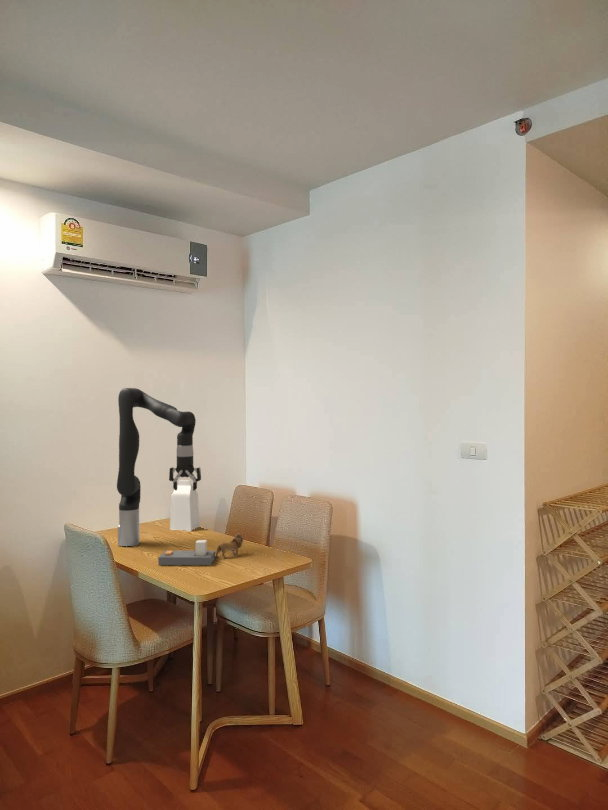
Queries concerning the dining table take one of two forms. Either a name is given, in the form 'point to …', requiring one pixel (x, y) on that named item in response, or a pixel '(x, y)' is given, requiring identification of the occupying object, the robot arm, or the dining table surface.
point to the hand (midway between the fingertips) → (185, 490)
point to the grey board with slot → (185, 558)
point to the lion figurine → (230, 546)
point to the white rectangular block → (201, 547)
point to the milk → (184, 507)
